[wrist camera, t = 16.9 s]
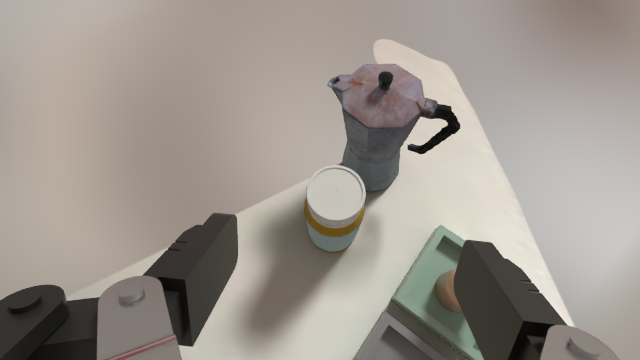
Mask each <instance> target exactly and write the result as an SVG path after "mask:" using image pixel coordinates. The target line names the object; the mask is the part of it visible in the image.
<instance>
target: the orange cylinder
mask: <svg viewBox="0 0 640 360" xmlns="http://www.w3.org/2000/svg"><path fill="white" fill-rule="evenodd" d="M455 272H456V268H455V269H453V270H450V271H447V272H444V273H442V274H441V275H440V276H439V277H438V278H437V280H436V283H435V294H436V297H437V299H438V301H439V302H440V304H441V305H442V306H443V307H444V308H446V309H447V310H449V311H452V312H462V310H461V307H460V305H459V303H458V301H457V299H456V296H455V293H454V286H453V282H454V275H455Z"/></svg>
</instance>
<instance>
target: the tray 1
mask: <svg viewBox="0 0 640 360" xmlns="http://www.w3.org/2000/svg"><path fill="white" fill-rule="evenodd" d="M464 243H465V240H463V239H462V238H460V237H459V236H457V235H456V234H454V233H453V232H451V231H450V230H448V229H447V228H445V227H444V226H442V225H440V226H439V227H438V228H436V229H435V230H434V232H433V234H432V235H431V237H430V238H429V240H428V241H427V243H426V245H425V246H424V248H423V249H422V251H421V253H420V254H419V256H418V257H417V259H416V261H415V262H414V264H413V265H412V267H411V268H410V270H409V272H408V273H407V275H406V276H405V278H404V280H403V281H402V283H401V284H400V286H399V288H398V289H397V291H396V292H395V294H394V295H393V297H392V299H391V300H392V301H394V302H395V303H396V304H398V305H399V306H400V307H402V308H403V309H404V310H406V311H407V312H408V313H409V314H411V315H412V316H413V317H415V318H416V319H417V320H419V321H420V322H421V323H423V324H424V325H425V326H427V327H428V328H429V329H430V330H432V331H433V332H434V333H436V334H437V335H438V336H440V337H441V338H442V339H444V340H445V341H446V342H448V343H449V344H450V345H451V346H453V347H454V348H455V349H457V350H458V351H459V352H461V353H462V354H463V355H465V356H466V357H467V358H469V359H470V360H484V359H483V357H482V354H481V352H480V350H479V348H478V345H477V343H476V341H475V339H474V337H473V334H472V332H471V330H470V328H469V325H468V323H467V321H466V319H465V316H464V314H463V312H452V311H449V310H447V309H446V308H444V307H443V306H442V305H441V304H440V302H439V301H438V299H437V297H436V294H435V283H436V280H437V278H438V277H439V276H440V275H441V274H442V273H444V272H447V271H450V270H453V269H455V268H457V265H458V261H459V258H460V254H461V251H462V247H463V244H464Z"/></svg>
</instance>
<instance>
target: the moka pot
mask: <svg viewBox="0 0 640 360" xmlns="http://www.w3.org/2000/svg"><path fill="white" fill-rule="evenodd" d="M328 86H329V87H331V88H332V89H333V91H334V92H335V94H336V96H337V98H338V99H339V101H340V102H341V104H342V111H343V116H344V122H345V127H346V134H347V139H348V140H347V144H346V148H345V151H344V155H343V163H342V166H345V167H348V168H350V169H352V170H353V171H354V172H356V173H357V174H358V175H359V176H360V178H361V179H362V181H363V183H364V186H365V189H366V190H365V191H370V192H371V191H378V190H381V189H384V188H386V187H388V186H389V185H390V184H391V183H392V182H393V181H394V179H395V178H396V176H397V175H398V171H399V158H400V147H401V146H402V145H403V144H404V141H405V140H406V139H407V137H408V136H409V134H410V132H411V131H412V129H413V127H414V126H415V124H416V123H417V121H418V119H419V118H420V116H421V117H425V118H429V119H435V118H440V119H443V120H446V121H447V122H448V126H446V127H444V128H442V130H441V131H440V132H438V133H437V134H436V135H435V136H433V137H432V138H431V139H430V140H429V141H428V142H427V143H425V144H424V145H421V146H417V145H414V144H410V145H408V150H410V151H414V152H417V153H419V154H424V153H426V152H427V151H428V150H431V149H432V148H433V147H434V146H436V145H438V144H439V143H440V142H441V141H443V140H445V139H446V138H448V137H449V136H451V135H452V134H455V133H456V132H457V131H458V130H459V129H460V123H459V122H458V120H457V118H456V116H455V115H454V113H452V111H451V106H446V105H440V104H437V101H435V100H431V99H428V98H424V94H423V87H422V83H421V80H420V79H418V78H417V77H415V76H414V75H412V74H411V73H409V72H408V71H406V70H405V69H403V68H401V67H400V66H398V65H397V64H371V65H369V64H366V65H363V66H362V67H360V68H359V69H358V70H356V71H355V72H354V73H353V74H351V75H339V76H337V77H334V78H332V79H330V81H329V82H328Z"/></svg>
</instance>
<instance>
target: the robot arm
mask: <svg viewBox="0 0 640 360" xmlns="http://www.w3.org/2000/svg"><path fill="white" fill-rule="evenodd" d="M237 258H238V235H237V218H236V216H235V215H232V214H222V213H213V214H212V215H211V216H210V217H209V218H208V219H207V221H206V222H205V223H204V224H203V225H196V226H194V227H192V228H190V229H188V230H187V231H185V232H183V234H181V235H180V236H179V238H178V239H177V240H176V242H175V243H173V244H172V245H171V246H170V247H169V248H168V250H166V251H165V252H164V253H163V254H162V256H161V257H160V258H159V259H158V260H157V261H156V262H155V263H154V264H153V265H152V266H151V267H150V268H149V269H148V270H147V271H146V272H145V273H144V275H143V276H135V277H131V278H127V279H124V280H122V281H119V282H117V283H115V284H113V285H112V286H110V287H109V288H108V289H106V290H105V291H104V292H103V294H102V295H101V296H100V297H98V298H89V299H81V300H72V301H66V297H65V294H64V291H63V289H61V288H60V287H58V286H55V285H39V286H34V287H30V288H26V289H23V290H21V291H18V292H15V293H13V294H11V295H9V296H7V297H5V298H4V299H2V300H0V360H182V358H181V354H180V350H179V346H178V345H183V346H191V347H193V345H194V343H195V341H196V340H197V338H198V336H199V334H200V332H201V330H202V328H203V327H204V325H205V323H206V321H207V319H208V317H209V315H210V314H211V312H212V310H213V308H214V306H215V304H216V302H217V301H218V299H219V297H220V295H221V293H222V291H223V290H224V288H225V286H226V284H227V282H228V280H229V278H230V277H231V275H232V273H233V271H234V269H235V266H236V263H237ZM453 286H454V293H455V296H456V299H457V301H458V303H459V305H460V307H461V310H462V312H463V314H464V316H465V319H466V321H467V323H468V325H469V328H470V330H471V332H472V334H473V337H474V339H475V341H476V343H477V345H478V348H479V350H480V352H481V354H482V357H483V359H484V360H619V358H618V357H617V356H616V354H615V353H614V352H613V351H612V350H611V349H610V348H609V347H608V346H607V345H605V344H604V343H603V342H602V341H600V340H599V339H597V338H596V337H594V336H592V335H590V334H589V333H587V332H585V331H582V330H580V329H577V328H574V327H571V326H568V325H567V324H566V323H565V322H564V321H563V319H562V318H561V317H560V316H559V314H558V313H557V312H556V311H555V309H554V308H553V307H552V306H551V305H550V303H549V302H548V301H547V300H546V298H545V297H544V296H543V295H542V294H541V293H539V290H538V289H537V287H536V286H535V285H534V284H533V283H531V280H530V279H529V278H528V276H527V275H526V274H525V273H524V272H523V270H522V269H521V268H519V267H518V266H516V265H515V264H514V263H512V262H511V261H510V260H508V259H504V258H503V257H502V255H501V254H500V253H499V251H498V250H497V249H496V248H495V246H494V245H493V244H492V243H490V242H482V241H473V240H466V241H465V243H464V244H463V247H462V251H461V254H460V258H459V261H458V265H457V268H456V272H455V275H454V282H453Z"/></svg>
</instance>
